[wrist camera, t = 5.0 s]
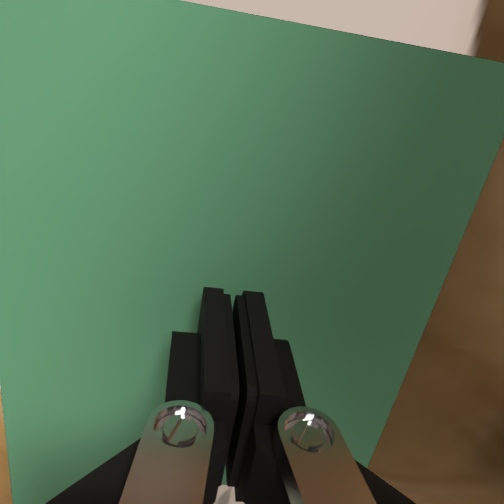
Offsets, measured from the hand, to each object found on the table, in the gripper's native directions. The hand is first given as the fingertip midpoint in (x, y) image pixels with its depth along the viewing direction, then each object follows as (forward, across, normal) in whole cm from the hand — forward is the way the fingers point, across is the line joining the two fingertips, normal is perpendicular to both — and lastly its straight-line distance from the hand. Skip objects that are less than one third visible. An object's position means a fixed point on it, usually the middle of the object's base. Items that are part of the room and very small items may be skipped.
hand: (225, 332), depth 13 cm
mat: (+4, 0, +6) cm, 7 cm away
